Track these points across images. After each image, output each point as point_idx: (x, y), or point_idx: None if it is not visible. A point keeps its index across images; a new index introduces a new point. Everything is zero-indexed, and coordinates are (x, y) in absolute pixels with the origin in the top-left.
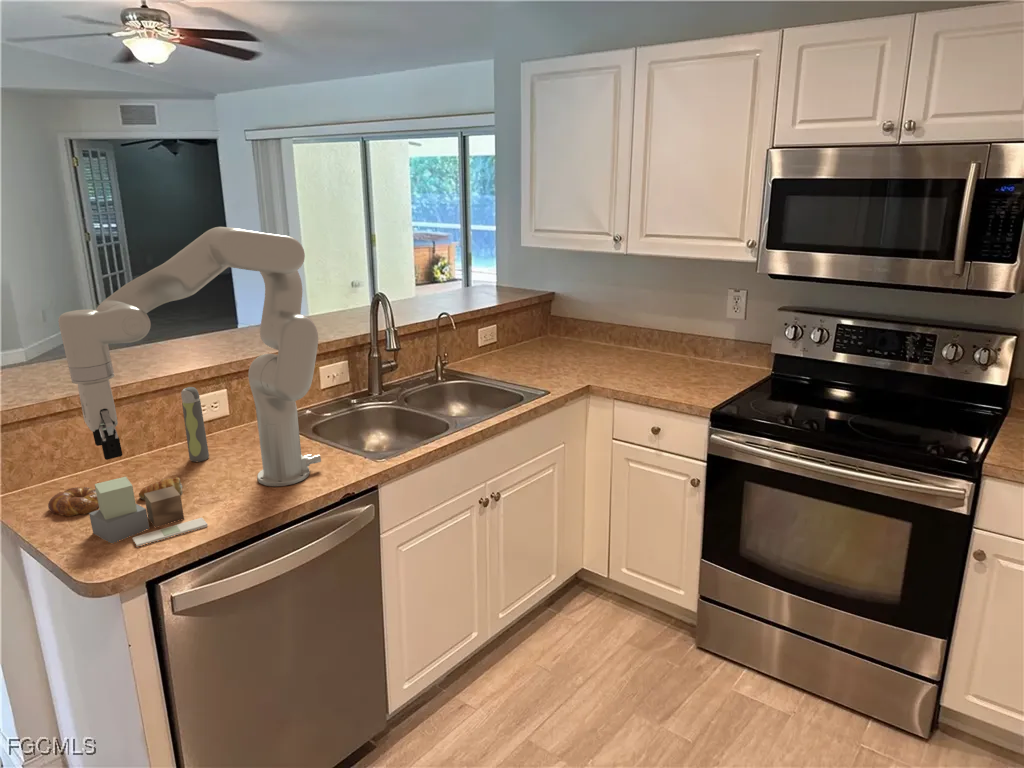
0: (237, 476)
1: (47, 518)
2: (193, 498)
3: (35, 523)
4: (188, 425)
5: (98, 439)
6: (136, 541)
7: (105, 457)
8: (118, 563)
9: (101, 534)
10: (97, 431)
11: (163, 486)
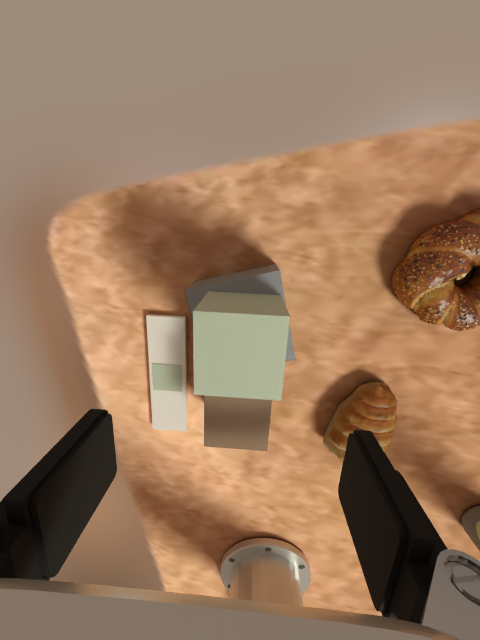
0: (329, 526)
1: (448, 195)
2: (293, 447)
3: (443, 164)
4: None
5: (359, 470)
6: (161, 319)
7: (86, 416)
8: (103, 270)
9: (234, 273)
10: (384, 528)
11: (346, 433)
